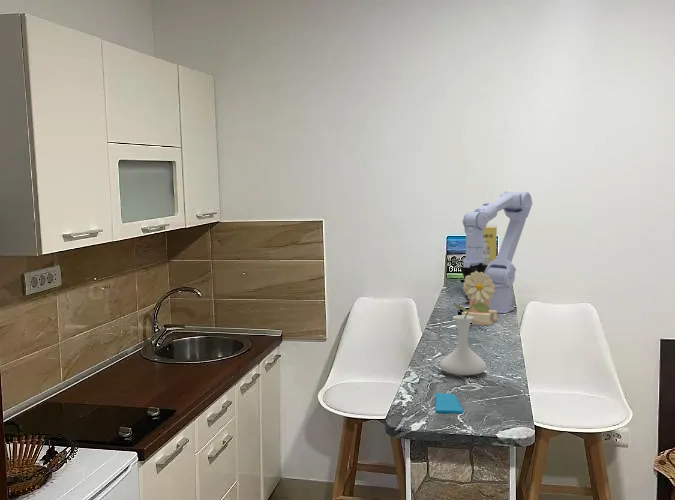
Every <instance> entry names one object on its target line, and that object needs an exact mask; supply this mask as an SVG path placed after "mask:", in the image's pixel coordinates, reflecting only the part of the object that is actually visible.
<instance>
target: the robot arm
mask: <svg viewBox="0 0 675 500" xmlns="http://www.w3.org/2000/svg"><path fill="white" fill-rule="evenodd" d="M532 199H533V198H532V196H531V194H530V192H529V191H523V192H522V191H521V192H519V191H504V192H503V193H501V194H500V195H499V197H497V199H496V200H494V201H493V202H492V203H491V202H484V203H482V206H480V207H477V208H475V209H474V211H468V212H467V213H465V215H464V216H463V219H462V225H463V228H464V233H465V234H466V235H465V258H464V259H463V258H462V262H463V264H462V265H463V266H460V268H459V269H460V271H461V273H462V276H463V279H464V281H465V277H466V276H468V275H470V276H471V273H474V272H475V271H477V272H479V273H480V272H483V273H484V274H487V275H488V276H489V277H490V278H489V279H491V280H492V283H493V284H494V286H495V289H494V290H495V292H494V293H493V298H490V299H489V308H490V310H496V311H497V314H498V313H501V314H507V313H509V312H512V311H513V310H514V309H515V308H514V307H512V294H513V293H512V289H511V287H512V285H513V284H514V282H515V278H516V271H517V268H516V266H515V265H514V264H513V263H512V261H513V259H514V256H515V253H516V250H517V247H518V244H519V241H520V237H521V235H522V233H523V230H524V228H525V224H526V220H527V218H528V217H529V215H530V211H531V209H532V206H533V200H532ZM502 210H503V212H504V214H505V216H506V217H507V218H509V222H508V225H507V228H506V232H505V233H504V237H503V239H502V241H501V245H500V248H499V251H498V253H497V255H496V259H494V260H493V261H491V262H489V265H488V267H487V265H483V264H484V258H483V228H485V227H486V225H488V223H489V222H490V221H492V220H493V219H495V218H496V217H497V215H498V213H499V212H501V211H502Z"/></svg>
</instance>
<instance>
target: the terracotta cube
mask: <svg viewBox="0 0 675 500" xmlns="http://www.w3.org/2000/svg"><path fill="white" fill-rule="evenodd" d="M476 303H478V301H475V302H474V304H476ZM472 304H473V300H472V299H470V305H468V306H469V307H468V310H469V309H470V307H471V306H472ZM484 304H486V305H487V306H488V307H489V300H486V302H484ZM488 311H489V310H488ZM488 311H485V312H478V311H477V310H476V309H475V308H474V307H472V308H471V310H470V311H469V312H474V313H486V312H488Z"/></svg>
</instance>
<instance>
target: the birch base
mask: <svg viewBox="0 0 675 500" xmlns="http://www.w3.org/2000/svg"><path fill="white" fill-rule="evenodd" d="M468 310H469V309H467V312H468ZM467 312H466V311H462V312H461V315H466V313H467ZM467 315H468V316H473V317H474V319H473V320H472V321H471V323H472V324H471V325H476V324H477V325H479V326H485V325H486V327H487V326H490V325H492V324H494V323H496V322H497V321H498V313H497V311H496V310H489V311H488V312H486V313H474V312H469V313H468V314H467Z"/></svg>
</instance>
